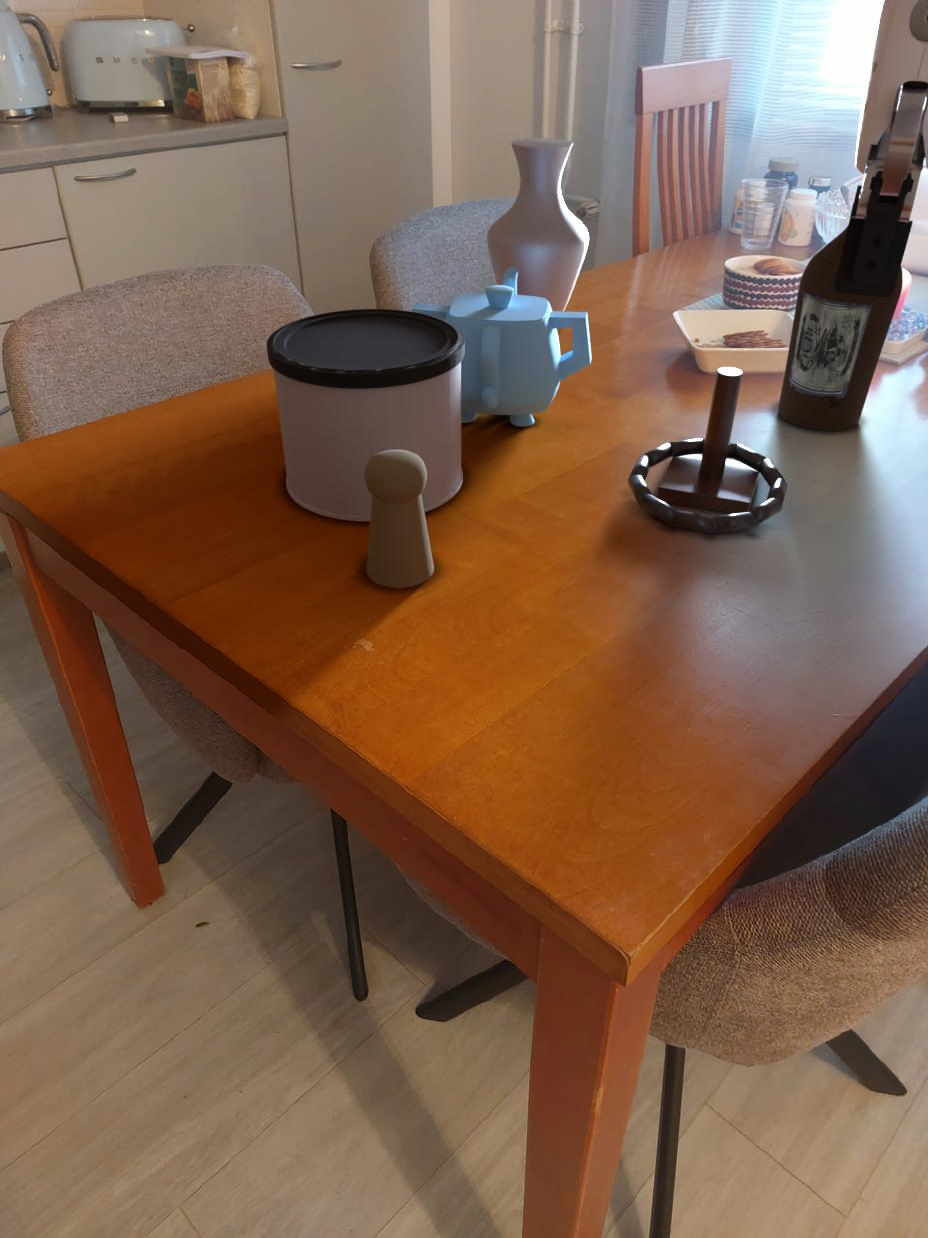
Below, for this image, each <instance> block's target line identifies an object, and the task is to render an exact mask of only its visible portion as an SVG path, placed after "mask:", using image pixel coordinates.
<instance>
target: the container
mask: <svg viewBox="0 0 928 1238" xmlns="http://www.w3.org/2000/svg"><path fill="white" fill-rule="evenodd" d="M266 351H267V360H268V363H269V365H270V366H271V368H272V370H273V376H274V385H275V393H276V401H277V409H278V416H279V417H278V418H279V425H280V433H281V440H282V448H283V456H284V463H285V464H284V465H285V470H286V471H285V472H286V478H285V483H286V489H287V493H288V495H289V496H290V497H291V499H293V501H294V502H295V503H297V504H298V505H299V506H300V507H302V508H303V509H306V510H308V511H310V512H312V513H315V514H318V515H320V516H323V517H328V518H332V519H337V520H341V521H348V522H349V521H350V522H370V519H371V506H372V494H371V493H370V492H369V491H368V488H367V485H366V482H365V476H364V473H365V468H366V465H367V463H368V461H369V460H370V458H371V457H373V456H374V455H376V454H378V453H380V452H383V451H387V450H395V449H396V450H406V451H409V452H412V453H414V454H417V455H418V456H419V457H420V458H421V459H422V461H423V462H424V464H425V467H426V470H427V480H426V484H425V488H424V490H423V491H422V493H421V496H422V502H423V508H424V513H427V512H429V511H430V512H431V511H432V510H434V509H437V508H439V507H441V506H442V505H444V504H446V503H447V502H449V500H451V499H452V498H454V496H455V495H456V494H457V493H458V492H459V490H460V489H461V487H462V484H463V478H464V472H463V468H462V423H461V361H462V359H463V357H464V354H465V337H464V334H463V332H462V331H461V330H460V329H459V328H458V327H457V326H455V325H454V324H452V323H450V322H448V321H446V320H443V319H441V318H438V317H434V316H431V315H427V314H422V313H417V312H411V311H409V310H402V309H401V310H400V309H392V308H391V309H389V308H359V309H357V308H356V309H355V308H354V309H344V310H336V311H330V312H323V313H319V314H315V315H310V316H307V317H303V318H299V319H297V320H294V321H292V322H289V323H286V324H284V325H283V326H280V327H279V328H277V329H276V330H275V331H273V332H272V333H271V334H270V335H269V336H268V338H267V340H266Z"/></svg>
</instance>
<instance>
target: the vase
mask: <svg viewBox="0 0 928 1238" xmlns="http://www.w3.org/2000/svg"><path fill="white" fill-rule="evenodd" d="M510 145H511V148H512V150H513V153H514V156H515V159H516V164H517V168H518V173H519V180H520V181H519V190H518V194H517V196H516V199H515V201H514V202H513V204H512V205H511V207H510V208H509V209H508V210H507V211H506V212H505V213H504V214H502V215H501V216H500V217H498V218H497V219H496V220H495V221H494V222H493V223H492V224H491V225H490V227H489V229H488V231H487V234H486V245H487V250H488V254H489V259H490V263H491V267H492V271H493V275H494V279H495V282H496V285H502V283H503V277H504V273H505V272H506V270H507V269H508V268H511V267H513V268H516V269H517V272H518V275H517V295H528V296H536V297H542V298H545V299H547V300H548V301H549V303H550V306H551V309H552V311H561V312H565V310H566V308H567V306H568V303H569V301H570V299H571V297H572V293H573V291H574V289H575V286H576V283H577V280H578V277H579V275H580V272H581V269H582V266H583V264H584V261H585V258H586V254H587V251H588V247H589V242H590V235H589V232H588V229H587V227H586V226H585V224H583V222H582V221H581V220H580V219H579V218H578V217H577V216H576V215H574V214H573V213H572V212H571V211H570V210H569V209H568V207H567V205H566V203H565V201H564V198H563V195H562V189H561V186H562V185H561V183H562V176H563V173H564V169H565V166H566V164H567V161H568V157H569V155H570V152H571V149H572V147H573V145H574V141H569V140H566V139H561V138H560V139H558V138H546V137H545V138H544V137H543V138H542V137H540V138H537V137H536V138H523V139H515V140H513V141H511V143H510Z"/></svg>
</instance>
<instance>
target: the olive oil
mask: <svg viewBox="0 0 928 1238" xmlns="http://www.w3.org/2000/svg"><path fill="white" fill-rule="evenodd" d="M853 204H854V201H853V202H852V207H851V210H850V213H851V212H852V208H853ZM850 216H851V214H850ZM850 216H849V217H850ZM848 225H849V223H848V224H847V226H846V227H845V228H844V229H843V230H842V231H840V232H839V234H837V235H836V236H835V237H833V238H831V240H830V241H828V242H827V243H826V244H825V245H824V246H822V247H821V248H820V249H819V250H817V251H816V252H815V253H814V254H813V255H812V257H811V258H810V260H809V261H808V262H807V264H806V266H805V268H804V270H803V272H802V273H801V275H800V276H801V277H800V280H799V284H798V290H797V296H796V302H795V308H794V309H795V310H794V314H793V315H794V316H793V322H792V327H791V334H790V338H789V339H790V340H789V345H788V351H787V357H786V363H785V368H784V369H785V370H784V373H783V380H782V385H781V391H780V396H779V401H778V406H777V407H778V408H777V412H778V415H780V417H781V418H782V419H784V420H785V421H787V422H789V423H791V424H793V425H796V426H799V427H802V428H805V429H810V430H815V431H816V430H818V431H843V430H848V429H851V428H853V427H855V426H857V424H858V423H859V421H860V419H861V417H862V413H863V411H864V406H865V404H866V400H867V397H868V395H869V391H870V387H871V384H872V381H873V378H874V375H875V372H876V368H877V365H878V362H879V360H880V356H881V355H882V354H881V353H882V351H883V348H884V344H885V342H886V340H887V335H888V333H889V330H890V326H891V323H892V321H893V319H894V315H895V313H896V309H897V306H898V304H899V301H900V297H901V294H902V289H903V267H902V266H901V267H900V270H899V274H898V277H897V281H896V285H895V288H894V291H893V293H892V295H890V296H889V297H876V296H867V295H857V294H847V293H839V292H837V291H836V290H835V289H834V284H835V280H836V275H837V271H838V267H839V263H840V259H841V254H842V250H843V246H844V241H845V237H846V233H847V229H848Z"/></svg>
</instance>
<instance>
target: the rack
mask: <svg viewBox="0 0 928 1238" xmlns="http://www.w3.org/2000/svg"><path fill="white" fill-rule="evenodd" d="M742 378H743V371H742V370H741V369H739V368H736V367H732V366H723V367H719V368H718V369H716V374H715V379H714V386H713V392H712V397H711V403H710V408H709V414H708V418H707V419H708V420H707V426H706V432H705V436H704V437H705V438H704V439H705V443H704V448H703V454H694V455H685V456H677V457H671V460H670V462H669V464H668V466H667V468H666V470H665V472H664V475H663V477H662V479H661V480H660V483H659V484H658V487H657V494H656V498H658V499H659V500H661V501H663V502H665V503H672V504H678V505H683V506H687V507H688V506H689V507H694V508H700V509H705V510H711V511H716V512H721V513H728V514H736V513H744V512H748V511H750V509H751V505H752V502H753V498H754V494H755V491H756V488H757V484H758V481H759V477H760V475H761V474H760V473H759V472H758V471H756V470H755V469H753V468H751V467H749V466H747V465H745V464H743V463H741V462H739V461H737V460H734V459H728V458H727V453H728V448H729V443H731V437H732V432H733V426H734V422H735V416H736V410H737V407H738V406H737V405H738V400H739V395H740V390H741V384H742Z"/></svg>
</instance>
